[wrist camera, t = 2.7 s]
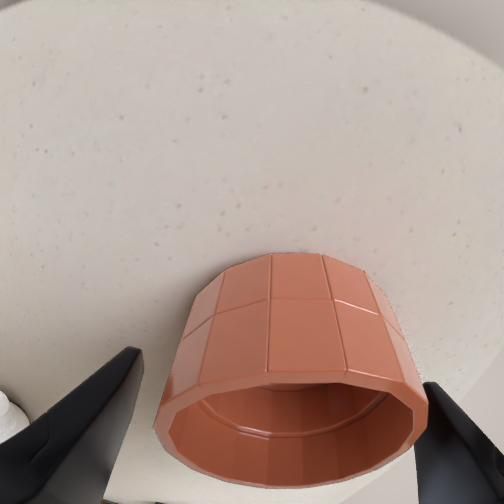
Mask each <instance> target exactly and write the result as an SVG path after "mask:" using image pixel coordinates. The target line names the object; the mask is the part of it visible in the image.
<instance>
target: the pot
mask: <svg viewBox="0 0 504 504" xmlns="http://www.w3.org/2000/svg"><path fill="white" fill-rule="evenodd" d="M427 421H428V400H427V397H426V394H425V391H424V388H423V385H422V382H421V380H420V377H419V374H418V371H417V369H416V366H415V363H414V361H413V358H412V355H411V353H410V350H409V348H408V345H407V343H406V341H405V338H404V336H403V333H402V331H401V328H400V326H399V323H398V321H397V319H396V316H395V314H394V312H393V309H392V307H391V305H390V302H389V300H388V298H387V296H386V295H385V294H384V293H383V291H382V290H381V289H380V288H379V287H378V286H377V285H376V284H375V282H374V281H373V280H372V279H371V278H370V277H369V276H368V275H367V274H366V272H365V271H362V270H361V269H358V268H356V267H353V266H351V265H348V264H346V263H343V262H341V261H338V260H336V259H333V258H331V257H328V256H326V255H320V254H291V253H274V254H272V255H271V254H267V255H264V256H262V257H259V258H256V259H253V260H250V261H247V262H244V263H241V264H238V265H236V266H233V267H230V268H228V269H226V270H224V271H223V272H222V273H221V274H220V275H219V276H217V277H216V278H215V279H214V280H213V281H212V282H211V283H210V284H209V285H207V286H206V287H205V288H204V289H203V290H202V291H201V292H200V293H199V294H197V296H196V297H195V299H194V302H193V305H192V308H191V311H190V314H189V317H188V319H187V322H186V325H185V328H184V331H183V334H182V337H181V340H180V343H179V346H178V349H177V352H176V355H175V358H174V361H173V364H172V367H171V370H170V373H169V377H168V380H167V383H166V386H165V389H164V392H163V395H162V399H161V402H160V405H159V408H158V411H157V415H156V418H155V421H154V425H153V431H154V432H155V434H156V436H157V438H158V439H159V441H160V443H161V444H162V446H163V448H164V449H165V451H166V452H167V453H169V454H170V455H171V456H173V457H174V458H176V459H177V460H179V461H180V462H181V463H183V464H184V465H186V466H187V467H189V468H190V469H192V470H195V471H197V472H200V473H202V474H205V475H207V476H210V477H213V478H216V479H218V480H221V481H224V482H228V483H233V484H239V485H245V486H251V487H257V488H265V489H301V488H310V487H317V486H323V485H329V484H334V483H339V482H343V481H347V480H350V479H353V478H356V477H359V476H361V475H364V474H367V473H369V472H372V471H375V470H377V469H379V468H381V467H383V466H385V465H386V464H388V463H389V462H391V461H393V460H394V459H396V458H397V457H399V456H400V455H402V454H403V453H405V452H406V451H408V450H409V449H410V448H411V447H412V445H413V444H414V443H415V442H416V441H417V439H418V438H419V437H420V436H421V434H422V433H423V432H424V431H425V429H426V427H427Z"/></svg>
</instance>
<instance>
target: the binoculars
mask: <svg viewBox="0 0 504 504" xmlns="http://www.w3.org/2000/svg"><path fill="white" fill-rule="evenodd" d="M28 425H30V423H29V421H28V418H27V416H26V415H25V413H24V412H23V411H22V410H21V409H20V408H19V407H17V406H16V405H15V404H13V403H11V402H9V400H8V398H7V397H6V395H5V394H4V393H3V392H1V391H0V444H1V443H2V442H4V441H6V440H7V439H9V438H10V437H12V436H14V435H15V434H17V433H18V432H20V431H21V430H23V429H24V428H26V427H27V426H28Z"/></svg>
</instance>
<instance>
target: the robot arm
mask: <svg viewBox="0 0 504 504" xmlns="http://www.w3.org/2000/svg"><path fill="white" fill-rule="evenodd" d="M143 373H144V361H143V354H142V350H141V349H139V348H136V347H132V346H128V347H126V348H125V349H124V350H122V351H121V352H120V353H119V354H117V355H116V356H115V357H114V358H112V359H111V360H110V361H109V362H107V363H106V364H105V365H104V366H102V367H101V368H100V369H99V370H97V371H96V372H95V373H94V374H92V375H91V376H90V377H89V378H88V379H86V380H85V381H84V382H83V383H81V384H80V385H79V386H78V387H76V388H75V389H74V390H73V391H71V392H70V393H69V394H68V395H66V396H65V397H64V398H63V399H61V400H60V401H59V402H58V403H56V404H55V405H54V406H53V407H51V408H50V409H49V410H48V411H47V413H44V414H43V415H41V416H40V417H39V418H38V419H36V420H35V421H34V422H32V423H31V424H30V425H28V426H27V427H26V428H24V429H23V430H21V431H20V432H18V433H17V434H15V435H14V436H12V437H10V438H9V439H7V440H6V441H4V442H2V443H1V444H0V504H101V501H102V498H103V495H104V493H105V490H106V487H107V484H108V481H109V478H110V475H111V472H112V470H113V467H114V464H115V461H116V459H117V456H118V453H119V450H120V448H121V445H122V442H123V440H124V437H125V434H126V432H127V429H128V426H129V424H130V421H131V418H132V415H133V412H134V408H135V404H136V400H137V396H138V392H139V388H140V384H141V381H142V377H143ZM422 385H423V388H424V391H425V394H426V397H427V400H428V421H427V427H426V429H425V431H424V432H423V433H422V434H421V436H420V437H419V438H418V439H417V441H416V442H415V443H414V451H415V460H416V470H417V483H418V498H419V504H504V455H503V454H502V453H501V452H500V451H499V449H498V448H497V447H495V445H494V444H493V443H492V442H491V441H490V439H488V437H487V436H486V435H485V434H484V433H483V432H482V431H481V430H480V428H479V427H478V426H477V425H476V424H475V423H474V422H473V421H472V420H471V419H470V418H469V417H468V415H467V414H465V412H464V411H463V410H462V409H461V408H460V407H459V406H458V405H457V404H456V403H455V402H454V401H453V400H452V398H451V397H450V396H449V395H448V394H447V393H446V392H445V391H444V390H443V389H442V388H441V387H440V386H439V385H438V384H437V383H436V382H425V383H423V384H422Z"/></svg>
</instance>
